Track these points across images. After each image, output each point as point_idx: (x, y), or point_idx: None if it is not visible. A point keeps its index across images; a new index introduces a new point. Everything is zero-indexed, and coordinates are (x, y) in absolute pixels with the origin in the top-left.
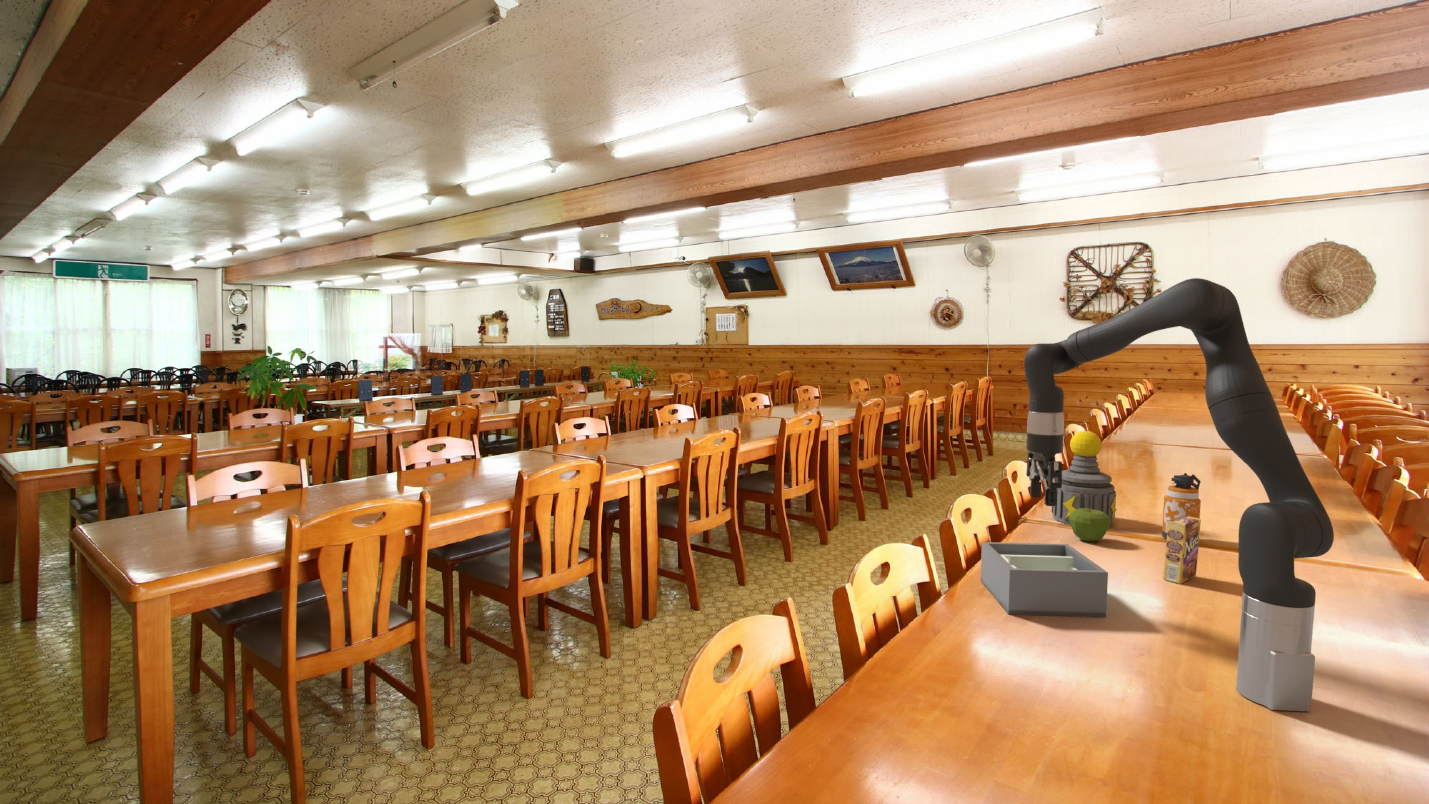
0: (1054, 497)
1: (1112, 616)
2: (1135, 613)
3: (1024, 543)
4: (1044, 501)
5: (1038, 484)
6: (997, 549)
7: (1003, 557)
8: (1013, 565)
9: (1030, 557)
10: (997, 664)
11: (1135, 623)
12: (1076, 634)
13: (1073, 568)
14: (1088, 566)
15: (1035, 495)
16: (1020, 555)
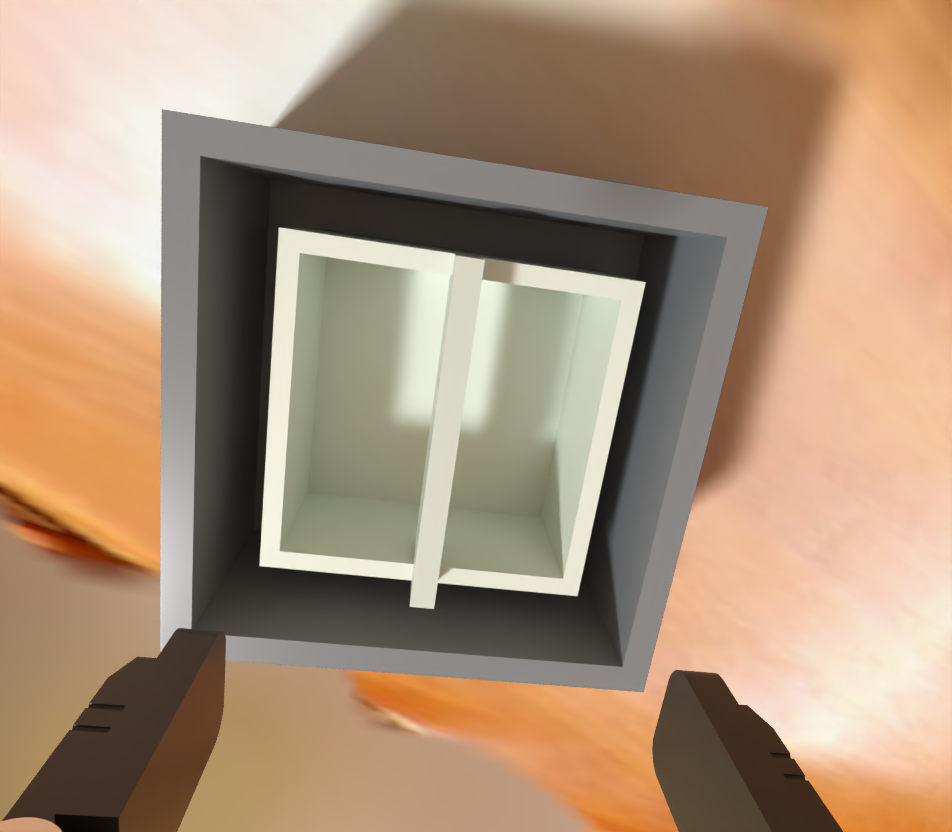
0: (803, 790)
1: (659, 176)
2: (643, 37)
3: (170, 420)
4: (665, 795)
5: (140, 814)
6: (204, 565)
7: (314, 567)
8: (447, 570)
9: (447, 505)
10: (903, 731)
11: (739, 120)
12: (783, 423)
13: (519, 278)
14: (577, 215)
15: (212, 699)
16: (422, 551)
